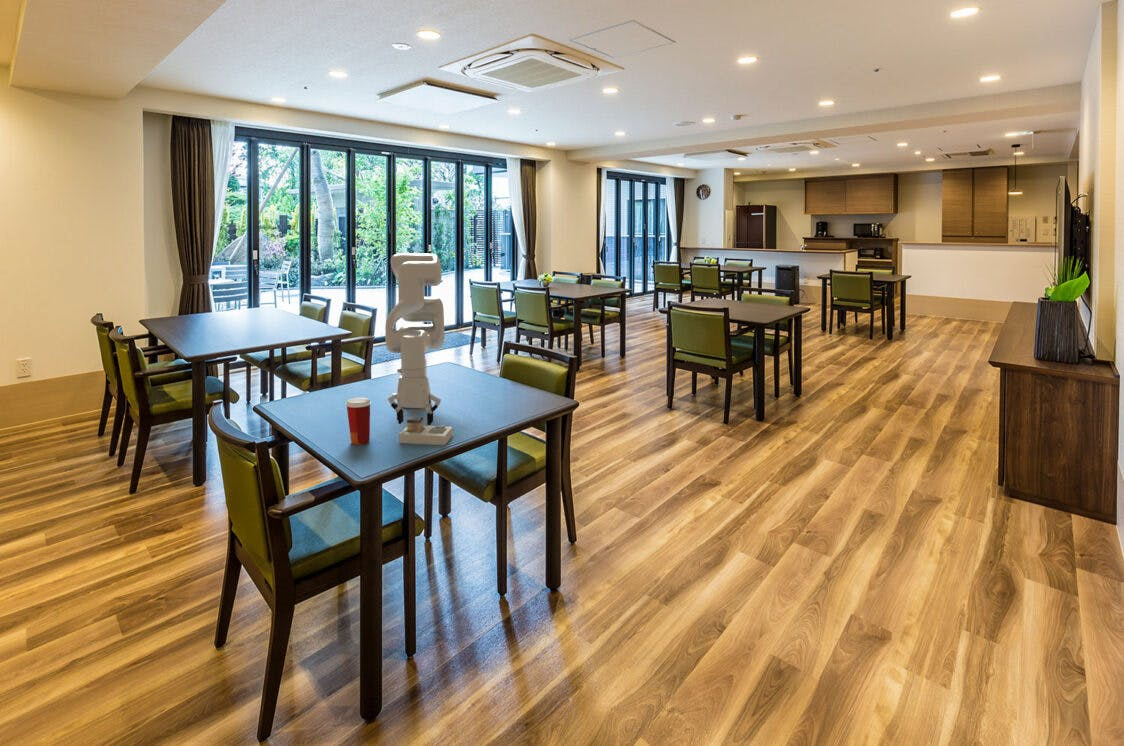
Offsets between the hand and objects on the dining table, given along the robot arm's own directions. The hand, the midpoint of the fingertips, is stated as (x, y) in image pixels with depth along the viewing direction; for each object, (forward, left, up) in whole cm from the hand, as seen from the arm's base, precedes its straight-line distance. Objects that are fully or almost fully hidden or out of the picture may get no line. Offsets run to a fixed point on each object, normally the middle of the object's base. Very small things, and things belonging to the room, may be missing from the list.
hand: (415, 423), depth 202 cm
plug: (0, 0, -5) cm, 5 cm away
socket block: (+4, 0, -5) cm, 6 cm away
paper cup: (-16, -6, -5) cm, 18 cm away
